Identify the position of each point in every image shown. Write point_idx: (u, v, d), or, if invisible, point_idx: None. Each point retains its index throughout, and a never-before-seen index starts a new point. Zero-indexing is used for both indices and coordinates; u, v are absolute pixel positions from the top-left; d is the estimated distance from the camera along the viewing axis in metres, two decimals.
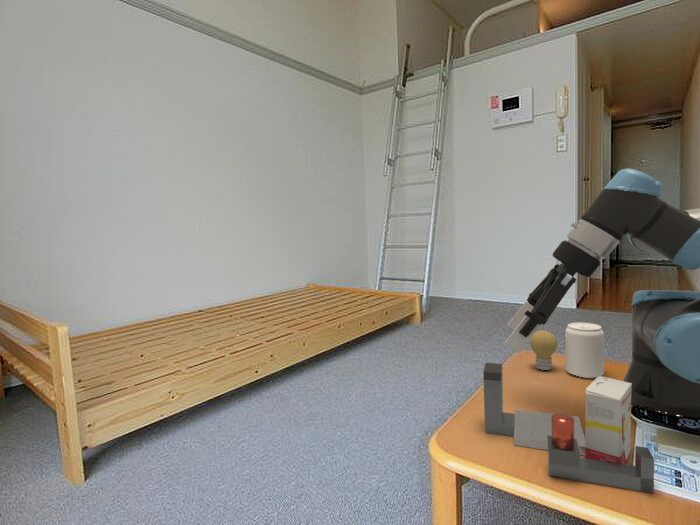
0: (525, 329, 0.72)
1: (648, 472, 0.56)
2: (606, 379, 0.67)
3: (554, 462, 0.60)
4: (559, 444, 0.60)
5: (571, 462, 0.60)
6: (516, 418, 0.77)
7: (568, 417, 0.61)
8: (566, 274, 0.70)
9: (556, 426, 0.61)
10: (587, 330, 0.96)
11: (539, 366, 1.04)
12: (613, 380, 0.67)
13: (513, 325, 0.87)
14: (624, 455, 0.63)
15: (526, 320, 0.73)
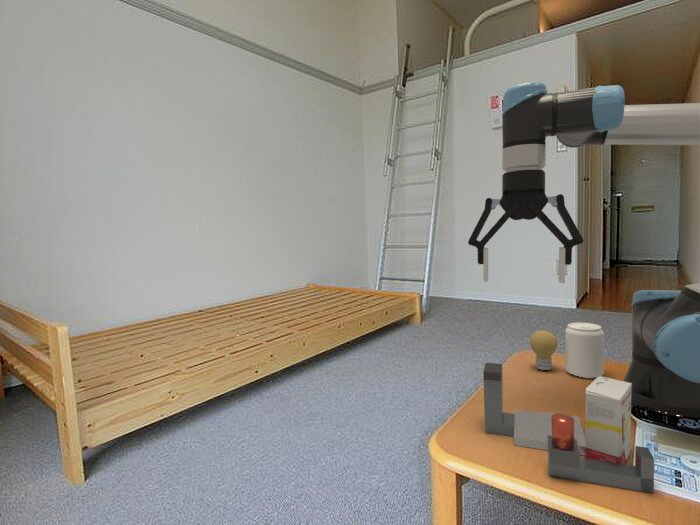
0: None
1: (648, 472, 0.56)
2: (606, 379, 0.67)
3: (554, 462, 0.60)
4: (559, 444, 0.60)
5: (571, 462, 0.60)
6: (516, 418, 0.77)
7: (568, 417, 0.61)
8: None
9: (556, 426, 0.61)
10: (587, 330, 0.96)
11: (539, 366, 1.04)
12: (613, 380, 0.67)
13: (559, 277, 0.78)
14: (624, 455, 0.63)
15: None
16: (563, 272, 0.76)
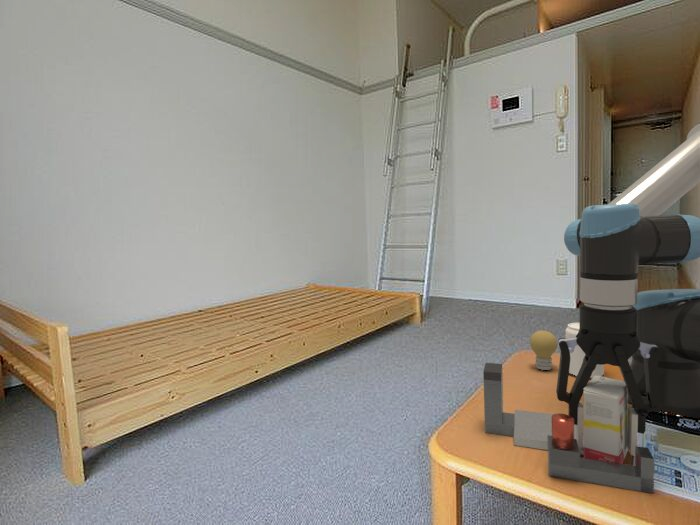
0: (568, 414, 0.67)
1: (648, 472, 0.56)
2: (603, 378, 0.67)
3: (554, 462, 0.60)
4: (559, 444, 0.60)
5: (571, 462, 0.60)
6: (516, 418, 0.77)
7: (568, 417, 0.61)
8: (558, 340, 0.67)
9: (556, 426, 0.61)
10: None
11: (539, 366, 1.04)
12: (610, 379, 0.67)
13: (628, 444, 0.64)
14: (622, 454, 0.63)
15: None
16: (635, 443, 0.62)
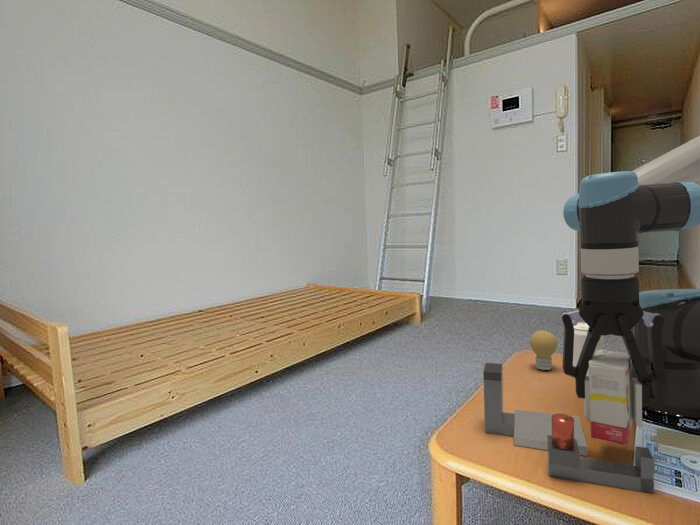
0: None
1: (648, 472, 0.56)
2: (606, 352, 0.67)
3: (554, 462, 0.60)
4: (559, 444, 0.60)
5: (571, 462, 0.60)
6: (516, 418, 0.77)
7: (568, 417, 0.61)
8: (561, 314, 0.66)
9: (556, 426, 0.61)
10: (587, 330, 0.96)
11: (539, 366, 1.04)
12: (613, 352, 0.67)
13: (633, 415, 0.64)
14: (629, 426, 0.62)
15: None
16: (640, 413, 0.62)
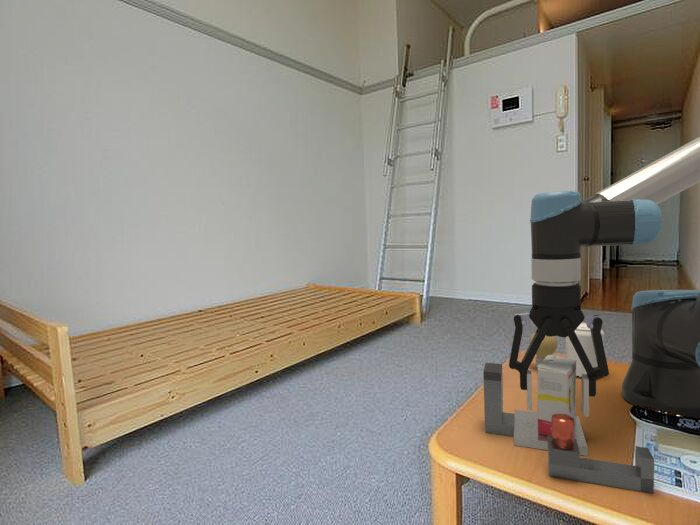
0: None
1: (648, 472, 0.56)
2: (555, 357, 0.74)
3: (554, 462, 0.60)
4: (559, 444, 0.60)
5: (571, 462, 0.60)
6: (516, 418, 0.77)
7: (568, 417, 0.61)
8: (514, 315, 0.74)
9: (556, 426, 0.61)
10: (587, 330, 0.96)
11: None
12: (561, 358, 0.74)
13: (582, 407, 0.71)
14: None
15: None
16: (587, 405, 0.69)
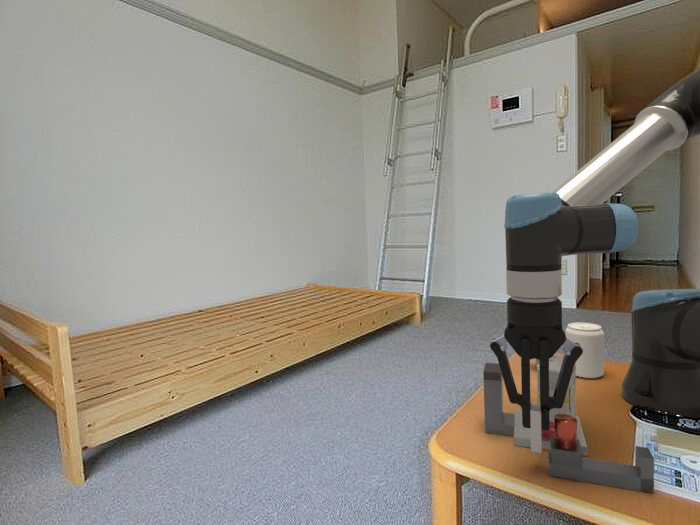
0: None
1: (648, 472, 0.56)
2: (554, 357, 0.74)
3: (557, 462, 0.60)
4: (562, 445, 0.60)
5: (574, 462, 0.59)
6: (516, 418, 0.77)
7: (571, 417, 0.61)
8: (491, 342, 0.65)
9: (559, 426, 0.60)
10: (587, 330, 0.96)
11: None
12: (560, 358, 0.74)
13: None
14: None
15: None
16: (539, 440, 0.62)
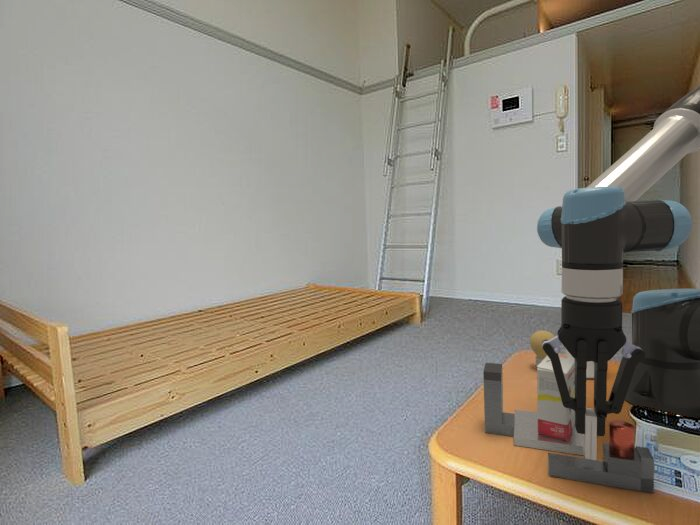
0: (575, 422, 0.61)
1: (648, 472, 0.56)
2: None
3: (613, 471, 0.58)
4: (619, 453, 0.58)
5: (632, 471, 0.57)
6: (516, 418, 0.77)
7: (627, 424, 0.58)
8: (542, 344, 0.62)
9: (616, 433, 0.58)
10: None
11: None
12: (560, 358, 0.74)
13: None
14: (571, 424, 0.70)
15: None
16: (594, 446, 0.59)
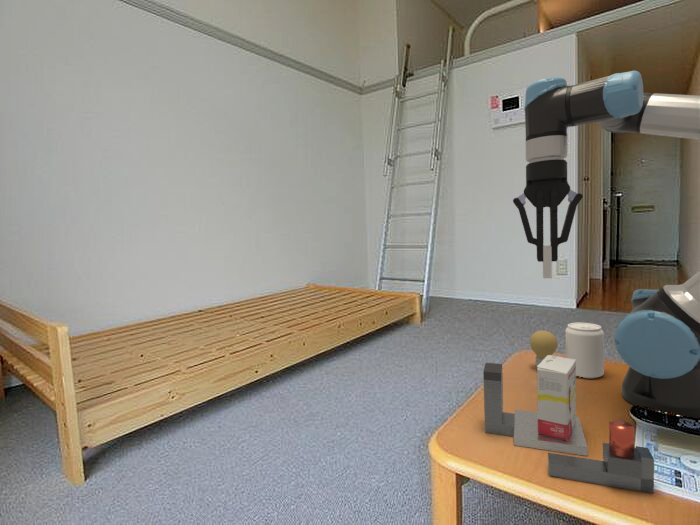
0: None
1: (648, 472, 0.56)
2: (554, 357, 0.74)
3: (613, 471, 0.58)
4: (619, 453, 0.58)
5: (632, 471, 0.57)
6: (516, 418, 0.77)
7: (627, 424, 0.58)
8: None
9: (616, 433, 0.58)
10: (587, 330, 0.96)
11: None
12: (560, 358, 0.74)
13: None
14: (571, 424, 0.70)
15: None
16: (550, 268, 0.83)
